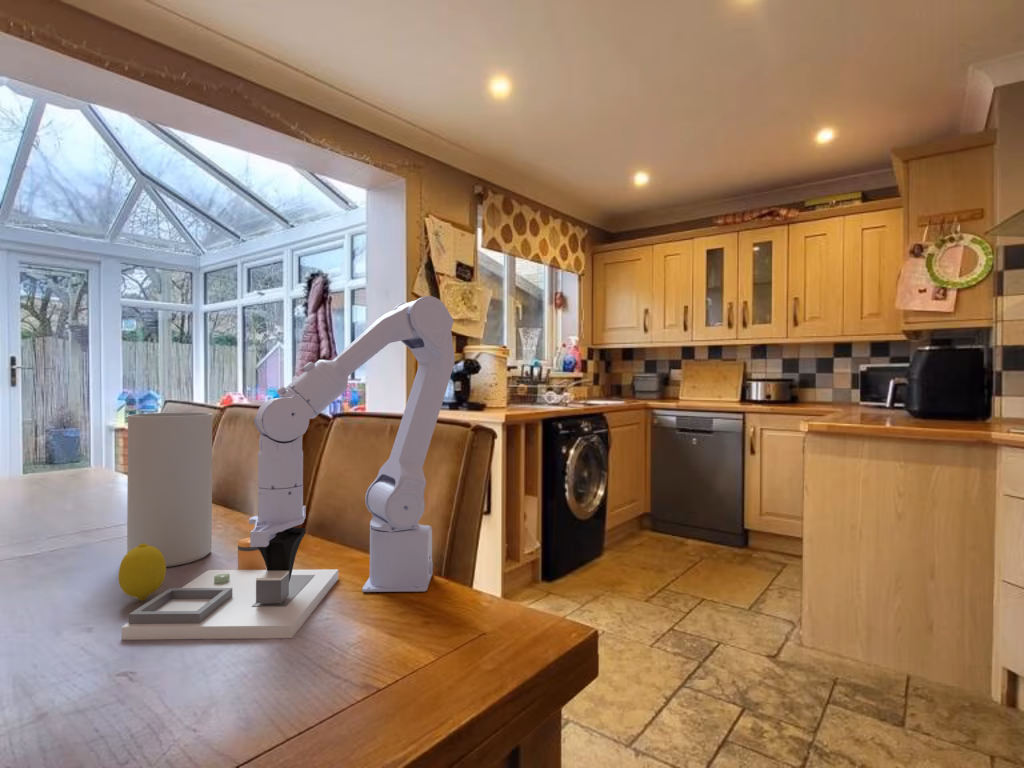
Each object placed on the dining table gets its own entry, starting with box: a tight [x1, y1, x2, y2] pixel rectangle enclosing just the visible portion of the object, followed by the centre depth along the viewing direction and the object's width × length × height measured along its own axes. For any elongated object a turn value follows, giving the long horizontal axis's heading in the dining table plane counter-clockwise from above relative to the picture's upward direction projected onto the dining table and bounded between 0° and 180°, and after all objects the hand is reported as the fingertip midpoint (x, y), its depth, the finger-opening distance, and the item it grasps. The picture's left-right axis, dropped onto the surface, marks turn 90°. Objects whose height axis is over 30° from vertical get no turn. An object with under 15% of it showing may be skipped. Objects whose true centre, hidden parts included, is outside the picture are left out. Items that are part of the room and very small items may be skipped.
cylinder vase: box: [126, 412, 213, 568], centre depth 96 cm, size 12×12×25 cm
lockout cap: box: [237, 536, 267, 570], centre depth 90 cm, size 4×4×5 cm
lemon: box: [118, 543, 167, 601], centre depth 77 cm, size 6×6×8 cm
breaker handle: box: [256, 571, 289, 603], centre depth 73 cm, size 3×3×3 cm
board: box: [121, 568, 339, 641], centre depth 76 cm, size 20×20×3 cm
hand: (280, 584), depth 76 cm, fingers closed
